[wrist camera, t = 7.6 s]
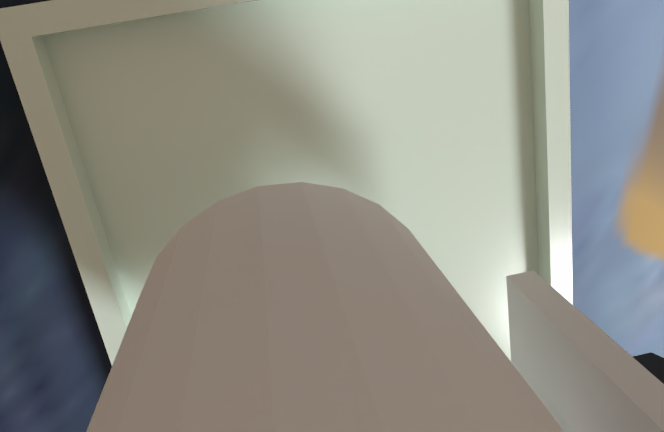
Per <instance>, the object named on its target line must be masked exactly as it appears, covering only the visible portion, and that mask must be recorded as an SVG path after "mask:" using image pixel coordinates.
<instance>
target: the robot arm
mask: <svg viewBox="0 0 664 432" xmlns="http://www.w3.org/2000/svg"><path fill="white" fill-rule="evenodd" d="M506 282H507V299H508V317H509V334H510V351H511V363H512V364H513V365H514V366H515V368H516V369H517V370H518V372H519V373H520V374H521V376H522V377H523V378H524V379H525V381H526V382H527V383H528V385H529V386H530V387H531V389H532V390H533V391H534V392H535V394H536V395H537V396H538V398H539V399H540V400H541V401H542V403H543V404H544V405H545V407H546V408H547V409H548V411H549V412H550V413H551V414H552V416H553V417H554V418H555V420H556V421H557V422H558V423H559V425H560V426H561V427H562V429H563V430H564V431H565V432H664V358H662V357H660V356H658V355H656V354H653V353H647V354H643V355H638V356H634V357H632V356H631V355H630V354H629V353H627V352H626V351H625V350H624V349H623V348H622V347H621V346H619V345H618V344H617V343H616V342H615V341H614V340H613V339H611V338H610V337H609V336H608V335H607V334H606V333H605V332H603V331H602V330H601V329H600V328H599V327H598V326H597V325H595V324H594V323H593V322H592V321H591V320H590V319H588V318H587V317H586V316H585V315H584V314H583V313H582V312H580V311H579V310H578V309H577V308H576V307H575V306H574V305H572V304H571V303H570V302H569V301H568V300H567V299H566V298H564V297H563V296H562V295H561V294H560V293H559V292H558V291H556V290H555V289H554V288H553V287H552V286H551V285H550V284H548V283H547V282H546V281H545V280H544V279H543V278H541V277H540V276H539V275H538V274H537V273H536V272H535V271H533V270H532V271H528V272H523V273H518V274H513V275H509V276H506Z"/></svg>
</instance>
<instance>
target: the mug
mask: <svg viewBox="0 0 664 432" xmlns="http://www.w3.org/2000/svg"><path fill="white" fill-rule="evenodd" d="M86 432H565V431H564V430H563V429H562V428H561V426H560V425H559V424H558V422H557V421H556V420H555V418H554V417H553V416H552V415H551V413H550V412H549V411H548V409H547V408H546V407H545V405H544V404H543V403H542V402H541V400H540V399H539V398H538V396H537V395H536V394H535V392H534V391H533V390H532V389H531V387H530V386H529V385H528V383H527V382H526V381H525V379H524V378H523V377H522V376H521V374H520V373H519V372H518V370H517V369H516V368H515V366H514V365H513V364H512V363H511V361H510V360H509V359H508V357H507V356H506V355H505V353H504V352H503V351H502V350H501V348H500V347H499V346H498V344H497V343H496V342H495V340H494V339H493V338H492V337H491V335H490V334H489V333H488V331H487V330H486V329H485V327H484V326H483V325H482V324H481V322H480V321H479V320H478V318H477V317H476V316H475V314H474V313H473V312H472V311H471V309H470V308H469V307H468V305H467V304H466V303H465V301H464V300H463V299H462V298H461V296H460V295H459V294H458V292H457V291H456V290H455V288H454V287H453V286H452V285H451V283H450V282H449V281H448V279H447V278H446V277H445V275H444V274H443V273H442V272H441V270H440V269H439V268H438V266H437V265H436V264H435V262H434V261H433V260H432V259H431V257H430V256H429V255H428V253H427V252H426V251H425V249H424V248H423V247H422V246H421V244H420V243H419V242H418V240H417V239H416V238H415V236H414V235H413V234H412V233H411V231H410V230H409V229H408V228H407V227H406V226H405V225H403V224H402V223H401V222H400V221H399V220H397V219H396V218H395V217H394V216H393V215H391V214H390V213H389V212H388V211H387V210H385V209H384V208H383V207H382V206H381V205H379V204H377V203H375V202H372V201H370V200H368V199H366V198H363V197H361V196H359V195H357V194H355V193H352V192H350V191H348V190H346V189H343V188H337V187H331V186H325V185H318V184H312V183H306V182H295V183H285V184H274V185H264V186H257V187H255V188H252V189H249V190H246V191H244V192H241V193H238V194H235V195H233V196H230V197H227V198H224V199H222V200H219V201H217V202H215V203H214V204H213V205H211V206H210V207H208V208H207V209H205V210H204V211H202V212H201V213H200V214H198V215H197V216H195V217H194V218H192V219H191V220H189V221H188V222H187V223H185V224H184V225H183V226H182V227H181V228H180V229H179V230H178V232H177V233H176V234H175V235H174V236H173V237H172V239H171V240H170V241H169V242H168V243H167V245H166V246H165V247H164V248H163V249H162V251H161V252H160V253H159V254H158V255H157V257H156V259H155V261H154V264H153V266H152V268H151V271H150V273H149V275H148V278H147V280H146V282H145V284H144V287H143V289H142V291H141V294H140V296H139V299H138V301H137V304H136V307H135V309H134V312H133V314H132V317H131V319H130V322H129V324H128V327H127V329H126V332H125V334H124V337H123V340H122V342H121V345H120V347H119V350H118V352H117V355H116V357H115V360H114V362H113V365H112V368H111V370H110V373H109V375H108V378H107V380H106V383H105V385H104V388H103V390H102V393H101V395H100V398H99V401H98V403H97V406H96V408H95V411H94V413H93V416H92V418H91V421H90V423H89V426H88V429H87V431H86Z"/></svg>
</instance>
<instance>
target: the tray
mask: <svg viewBox="0 0 664 432" xmlns="http://www.w3.org/2000/svg"><path fill="white" fill-rule="evenodd" d="M0 41H1V44H2V47H3V50H4V53H5V56H6V59H7V62H8V65H9V68H10V71H11V74H12V76H13V79H14V82H15V85H16V88H17V91H18V94H19V97H20V100H21V103H22V106H23V109H24V111H25V114H26V117H27V120H28V123H29V126H30V129H31V132H32V135H33V138H34V141H35V144H36V146H37V149H38V152H39V155H40V158H41V161H42V164H43V167H44V170H45V173H46V176H47V178H48V181H49V184H50V187H51V190H52V193H53V196H54V199H55V202H56V205H57V208H58V211H59V213H60V216H61V219H62V222H63V225H64V228H65V231H66V234H67V237H68V240H69V243H70V246H71V248H72V251H73V254H74V257H75V260H76V263H77V266H78V269H79V272H80V275H81V278H82V281H83V283H84V286H85V289H86V292H87V295H88V298H89V301H90V304H91V307H92V310H93V313H94V315H95V318H96V321H97V324H98V327H99V330H100V333H101V336H102V339H103V342H104V345H105V348H106V350H107V353H108V356H109V359H110V362H111V365H113V362H114V360H115V357H116V355H117V352H118V350H119V347H120V345H121V342H122V340H123V337H124V334H125V332H126V329H127V327H128V324H129V322H130V319H131V317H132V314H133V312H134V309H135V307H136V304H137V301H138V299H139V296H140V294H141V291H142V289H143V287H144V284H145V282H146V280H147V278H148V275H149V273H150V271H151V268H152V266H153V264H154V261H155V259H156V257H157V255H158V254H159V253H160V252H161V251H162V249H163V248H164V247H165V246H166V245H167V243H168V242H169V241H170V240H171V239H172V237H173V236H174V235H175V234H176V233H177V232H178V230H179V229H180V228H181V227H182V226H183V225H184V224H185V223H187V222H188V221H189V220H191V219H192V218H194V217H195V216H197V215H198V214H200V213H201V212H202V211H204V210H205V209H207V208H208V207H210V206H211V205H213V204H214V203H215V202H217V201H219V200H222V199H224V198H227V197H230V196H233V195H235V194H238V193H241V192H244V191H246V190H249V189H252V188H255V187H257V186H264V185H274V184H285V183H295V182H306V183H312V184H318V185H325V186H331V187H337V188H343V189H346V190H348V191H350V192H352V193H355V194H357V195H359V196H361V197H363V198H366V199H368V200H370V201H372V202H375V203H377V204H379V205H381V206H382V207H383V208H384V209H385V210H387V211H388V212H389V213H390V214H391V215H393V216H394V217H395V218H396V219H397V220H399V221H400V222H401V223H402V224H403V225H405V226H406V227H407V228H408V229H409V230H410V231H411V233H412V234H413V235H414V236H415V238H416V239H417V240H418V242H419V243H420V244H421V246H422V247H423V248H424V249H425V251H426V252H427V253H428V255H429V256H430V257H431V259H432V260H433V261H434V262H435V264H436V265H437V266H438V268H439V269H440V270H441V272H442V273H443V274H444V275H445V277H446V278H447V279H448V281H449V282H450V283H451V285H452V286H453V287H454V288H455V290H456V291H457V292H458V294H459V295H460V296H461V298H462V299H463V300H464V301H465V303H466V304H467V305H468V307H469V308H470V309H471V311H472V312H473V313H474V314H475V316H476V317H477V318H478V320H479V321H480V322H481V324H482V325H483V326H484V327H485V329H486V330H487V331H488V333H489V334H490V335H491V337H492V338H493V339H494V340H495V342H496V343H497V344H498V346H499V347H500V348H501V350H502V351H503V352H504V353H505V355H506V356H507V357H508V359H509V360H510V361H511V351H510V334H509V317H508V299H507V282H506V276H509V275H513V274H518V273H523V272H528V271H532V270H533V271H535V272H536V273H537V274H538V275H539V276H540V277H541V278H543V279H544V280H545V281H546V282H547V283H548V284H550V285H551V286H552V287H553V288H554V289H555V290H556V291H558V292H559V293H560V294H561V295H562V296H563V297H564V298H566V299H567V300H568V301H569V302H570V303H571V304H572V305H573V285H572V214H571V144H570V73H569V3H568V0H50V1H44V2H38V3H32V4H25V5H19V6H13V7H7V8H0ZM541 402H542V401H541ZM551 415H552V414H551ZM558 424H559V423H558ZM561 428H562V427H561Z"/></svg>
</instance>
